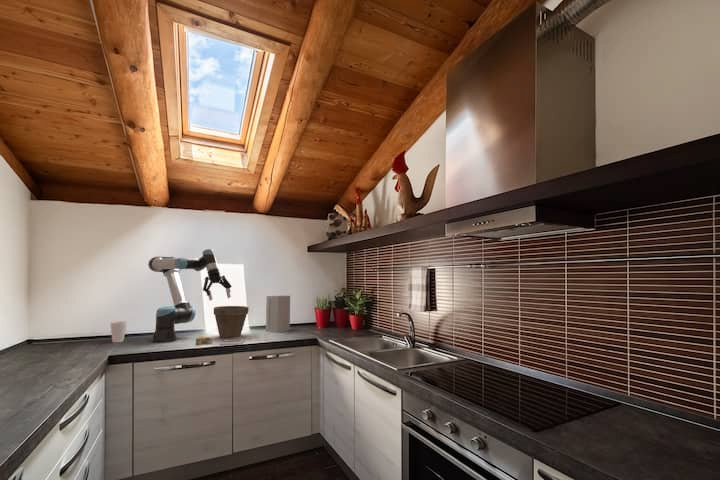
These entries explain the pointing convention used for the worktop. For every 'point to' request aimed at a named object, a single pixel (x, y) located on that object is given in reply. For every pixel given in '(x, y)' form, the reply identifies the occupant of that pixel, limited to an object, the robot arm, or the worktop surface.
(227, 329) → the plant pot
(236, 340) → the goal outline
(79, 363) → the worktop surface
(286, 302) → the grey faceted cylinder
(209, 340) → the t block
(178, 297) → the robot arm
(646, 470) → the worktop surface
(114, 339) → the foam cup
